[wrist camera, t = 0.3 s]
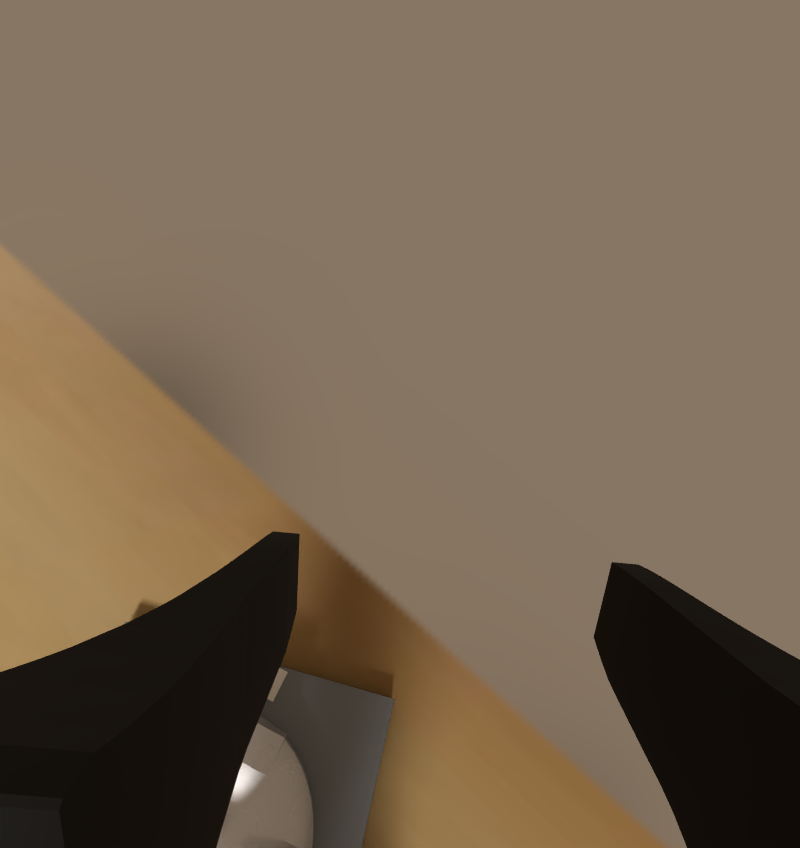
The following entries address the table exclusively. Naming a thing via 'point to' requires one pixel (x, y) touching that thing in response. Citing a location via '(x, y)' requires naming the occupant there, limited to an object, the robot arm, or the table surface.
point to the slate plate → (333, 748)
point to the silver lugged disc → (269, 796)
